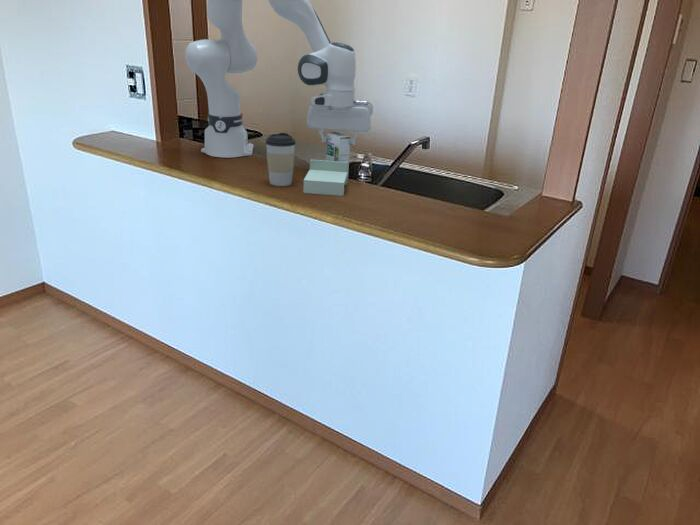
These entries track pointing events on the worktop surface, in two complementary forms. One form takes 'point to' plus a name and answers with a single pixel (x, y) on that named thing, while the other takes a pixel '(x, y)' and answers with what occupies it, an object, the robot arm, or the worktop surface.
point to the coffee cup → (280, 158)
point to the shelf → (326, 177)
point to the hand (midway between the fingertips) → (338, 143)
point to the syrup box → (338, 147)
